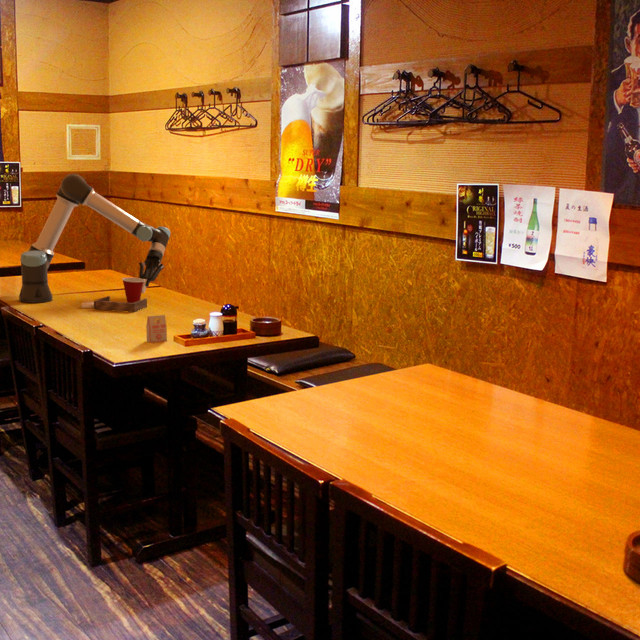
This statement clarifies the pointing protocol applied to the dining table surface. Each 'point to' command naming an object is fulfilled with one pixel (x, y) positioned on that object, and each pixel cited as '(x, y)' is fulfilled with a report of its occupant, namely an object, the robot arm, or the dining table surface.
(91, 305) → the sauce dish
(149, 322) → the printed paper bag
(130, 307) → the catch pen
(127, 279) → the plastic cup
